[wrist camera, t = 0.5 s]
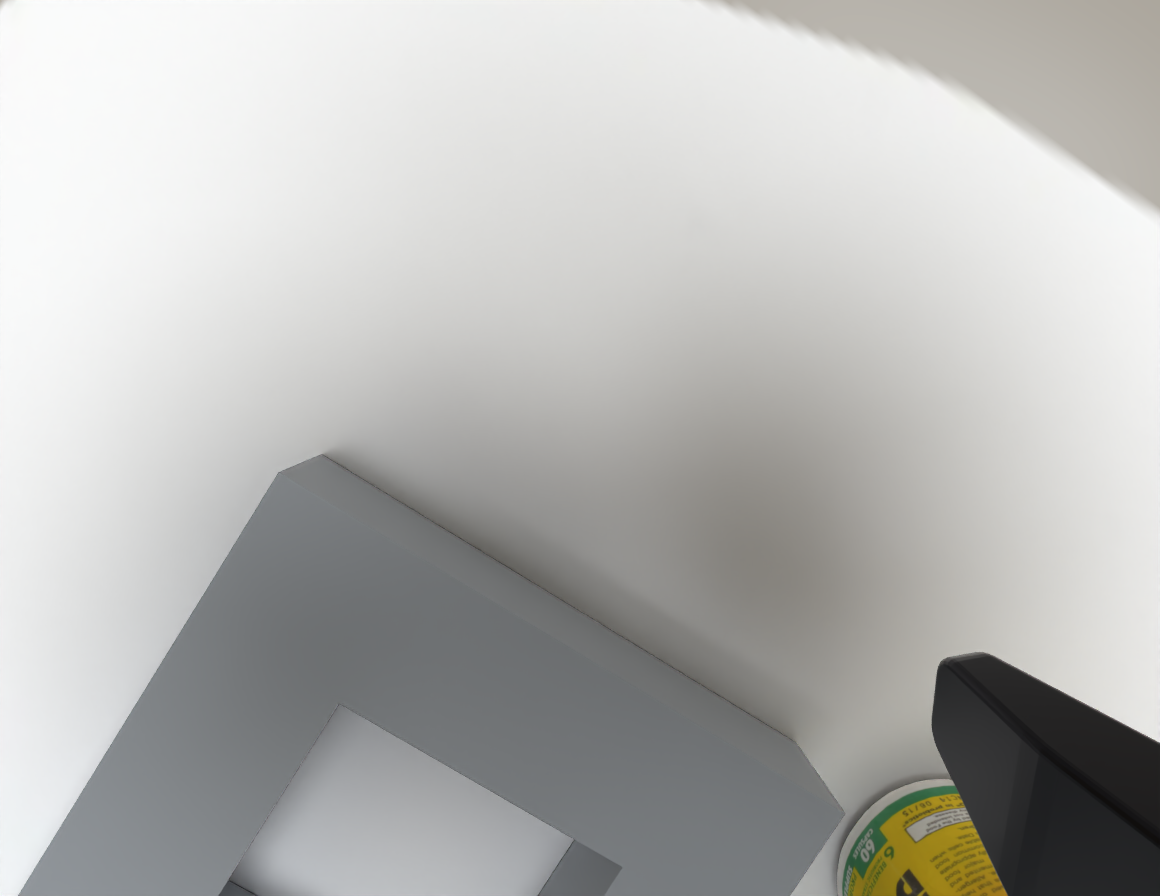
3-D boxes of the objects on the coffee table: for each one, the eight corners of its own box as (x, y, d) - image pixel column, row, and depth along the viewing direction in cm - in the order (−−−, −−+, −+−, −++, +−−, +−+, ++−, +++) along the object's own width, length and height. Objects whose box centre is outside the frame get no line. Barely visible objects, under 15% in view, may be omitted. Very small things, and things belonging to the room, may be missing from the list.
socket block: (796, 742, 22) (845, 813, 19) (506, 1177, 23) (501, 1323, 19) (322, 454, 21) (278, 471, 17) (30, 926, 21) (-67, 1034, 18)
